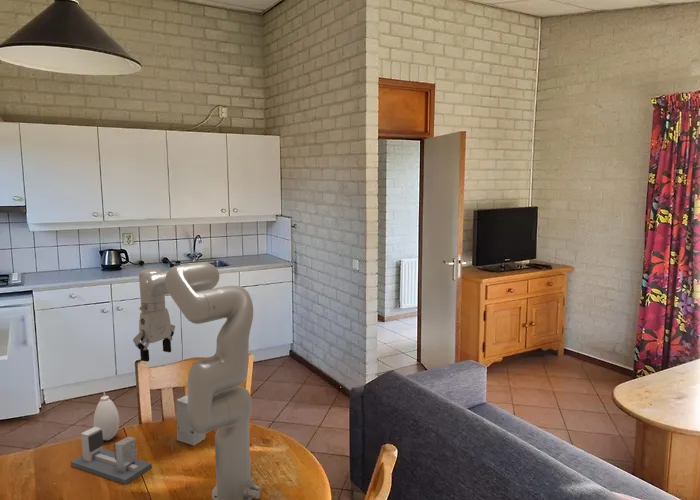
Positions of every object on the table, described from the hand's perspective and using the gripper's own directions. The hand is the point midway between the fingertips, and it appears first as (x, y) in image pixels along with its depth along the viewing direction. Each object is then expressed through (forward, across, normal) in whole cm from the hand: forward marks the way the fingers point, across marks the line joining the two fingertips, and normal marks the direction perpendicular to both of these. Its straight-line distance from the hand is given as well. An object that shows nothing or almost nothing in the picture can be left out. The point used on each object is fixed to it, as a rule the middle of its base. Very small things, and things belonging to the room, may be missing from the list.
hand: (156, 356), depth 176 cm
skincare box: (+31, +5, -9) cm, 32 cm away
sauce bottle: (+31, -7, +18) cm, 36 cm away
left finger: (+29, -19, -5) cm, 35 cm away
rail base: (+30, -19, +2) cm, 36 cm away
